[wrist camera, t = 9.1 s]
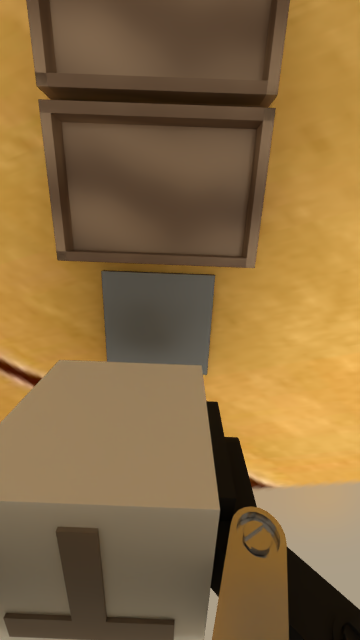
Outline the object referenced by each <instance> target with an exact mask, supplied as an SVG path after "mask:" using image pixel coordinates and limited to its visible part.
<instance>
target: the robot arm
mask: <svg viewBox="0 0 360 640" xmlns="http://www.w3.org/2000/svg"><path fill="white" fill-rule="evenodd" d="M206 404H207V412H208V419H209V427H210V435H211V443H212V451H213V458H214V466H215V474H216V482H217V490H218V497H219V505H220V514H219V522H218V530H217V539H216V547H215V555H214V563H213V571H212V579H211V588H212V590H213V591H214V592H215V593H216V594H217V596H218V597H219V600H218V606H217V612H216V618H215V624H214V630H213V636H212V640H360V610H359V609H358V608H357V607H356V606H355V605H353V603H351V602H350V601H349V600H348V599H347V598H346V597H344V596H343V595H342V594H341V593H340V592H339V591H337V590H336V589H335V588H334V587H333V586H332V585H331V584H329V583H328V582H327V581H326V580H325V579H323V578H322V577H321V576H320V575H319V574H318V573H317V572H316V571H314V570H313V569H312V568H311V567H310V566H309V565H307V564H306V563H305V562H304V561H303V560H301V559H300V558H299V557H298V556H297V555H296V554H295V553H294V552H292V551H291V550H290V549H289V548H288V547H287V545H286V538H285V534H284V532H283V529H282V527H281V525H280V524H279V523H278V521H277V520H276V519H275V518H274V517H273V516H272V515H271V514H269V513H268V512H267V511H265V510H263V509H261V508H257V506H256V503H255V499H254V495H253V491H252V487H251V483H250V479H249V476H248V472H247V468H246V464H245V460H244V456H243V453H242V449H241V445H240V441H239V439H238V438H237V437H224V432H223V427H222V422H221V417H220V412H219V407H218V402H209V401H206Z"/></svg>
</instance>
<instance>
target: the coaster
mask: <svg viewBox="0 0 360 640" xmlns="http://www.w3.org/2000/svg"><path fill="white" fill-rule="evenodd" d="M101 273H102V288H103V304H104V319H105V334H106V350H107V362H126V363H151V364H177V365H202V373H203V375H207V368H208V356H209V344H210V331H211V319H212V307H213V295H214V282H215V275H208V274H182V273H157V272H131V271H105V270H103V271H101Z"/></svg>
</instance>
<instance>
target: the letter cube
mask: <svg viewBox="0 0 360 640" xmlns="http://www.w3.org/2000/svg"><path fill="white" fill-rule="evenodd" d="M219 514H220V505H219V497H218V490H217V482H216V474H215V466H214V458H213V451H212V443H211V435H210V427H209V419H208V412H207V404H206V396H205V388H204V380H203V373H202V365H177V364H151V363H126V362H100V361H75V360H59V361H58V362H57V363H56V364H55V365H54V366H53V367H52V369H51V370H50V371H49V372H48V373H47V374H46V375H45V376H44V377H43V378H42V379H41V380H40V381H39V382H38V383H37V384H36V386H35V387H34V388H33V389H32V390H31V391H30V392H29V393H28V394H27V395H26V396H25V397H24V398H23V399H22V400H21V402H20V403H19V404H18V405H17V406H16V407H15V408H14V409H13V410H12V411H11V412H10V413H9V414H8V415H7V416H6V417H5V419H4V420H3V421H2V422H1V423H0V640H204V635H205V627H206V618H207V610H208V603H209V595H210V587H211V579H212V571H213V563H214V555H215V547H216V539H217V530H218V522H219Z"/></svg>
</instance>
